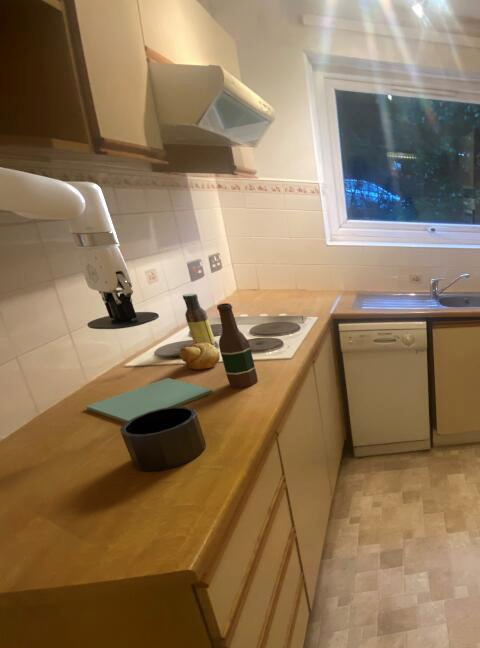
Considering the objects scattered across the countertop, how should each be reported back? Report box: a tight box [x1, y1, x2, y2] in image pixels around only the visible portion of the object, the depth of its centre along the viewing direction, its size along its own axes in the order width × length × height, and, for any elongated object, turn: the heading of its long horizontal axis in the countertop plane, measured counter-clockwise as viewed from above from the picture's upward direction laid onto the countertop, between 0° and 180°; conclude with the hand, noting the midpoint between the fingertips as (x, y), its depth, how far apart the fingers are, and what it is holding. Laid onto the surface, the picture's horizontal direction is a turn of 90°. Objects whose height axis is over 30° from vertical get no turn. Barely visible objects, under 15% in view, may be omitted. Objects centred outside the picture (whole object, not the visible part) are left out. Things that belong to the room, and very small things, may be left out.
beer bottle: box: [216, 302, 259, 389], centre depth 124 cm, size 8×8×24 cm
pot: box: [119, 406, 207, 473], centre depth 93 cm, size 13×13×8 cm
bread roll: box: [178, 343, 221, 370], centre depth 141 cm, size 13×10×8 cm
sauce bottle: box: [182, 292, 217, 347], centre depth 152 cm, size 6×6×20 cm
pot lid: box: [87, 300, 160, 330], centre depth 105 cm, size 13×13×6 cm
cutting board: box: [85, 377, 214, 424], centre depth 118 cm, size 20×20×1 cm
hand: (123, 317), depth 106 cm, fingers closed on pot lid, 3 cm apart
